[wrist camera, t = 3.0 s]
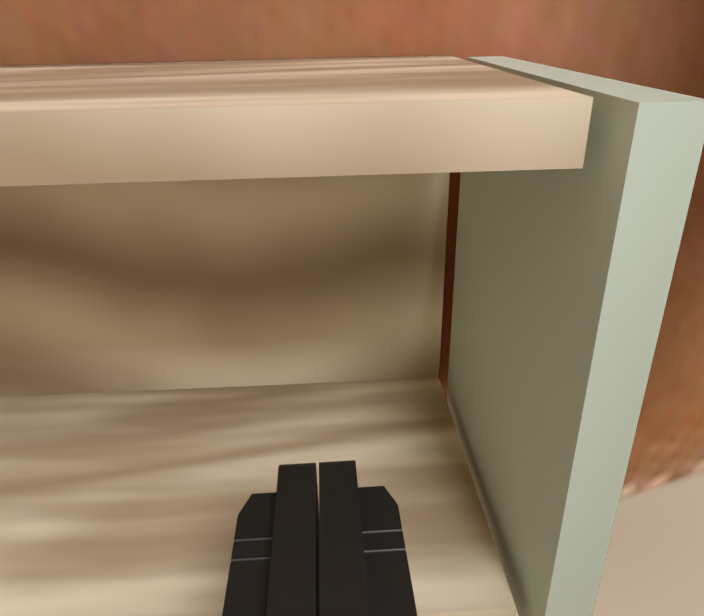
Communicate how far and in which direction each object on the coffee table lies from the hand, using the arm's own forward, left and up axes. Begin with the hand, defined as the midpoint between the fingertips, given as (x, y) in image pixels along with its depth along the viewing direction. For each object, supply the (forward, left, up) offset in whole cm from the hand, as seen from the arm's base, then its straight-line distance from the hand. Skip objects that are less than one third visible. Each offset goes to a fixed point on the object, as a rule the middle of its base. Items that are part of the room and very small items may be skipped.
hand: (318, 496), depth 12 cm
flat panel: (0, +6, -13) cm, 14 cm away
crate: (0, -5, -14) cm, 15 cm away
